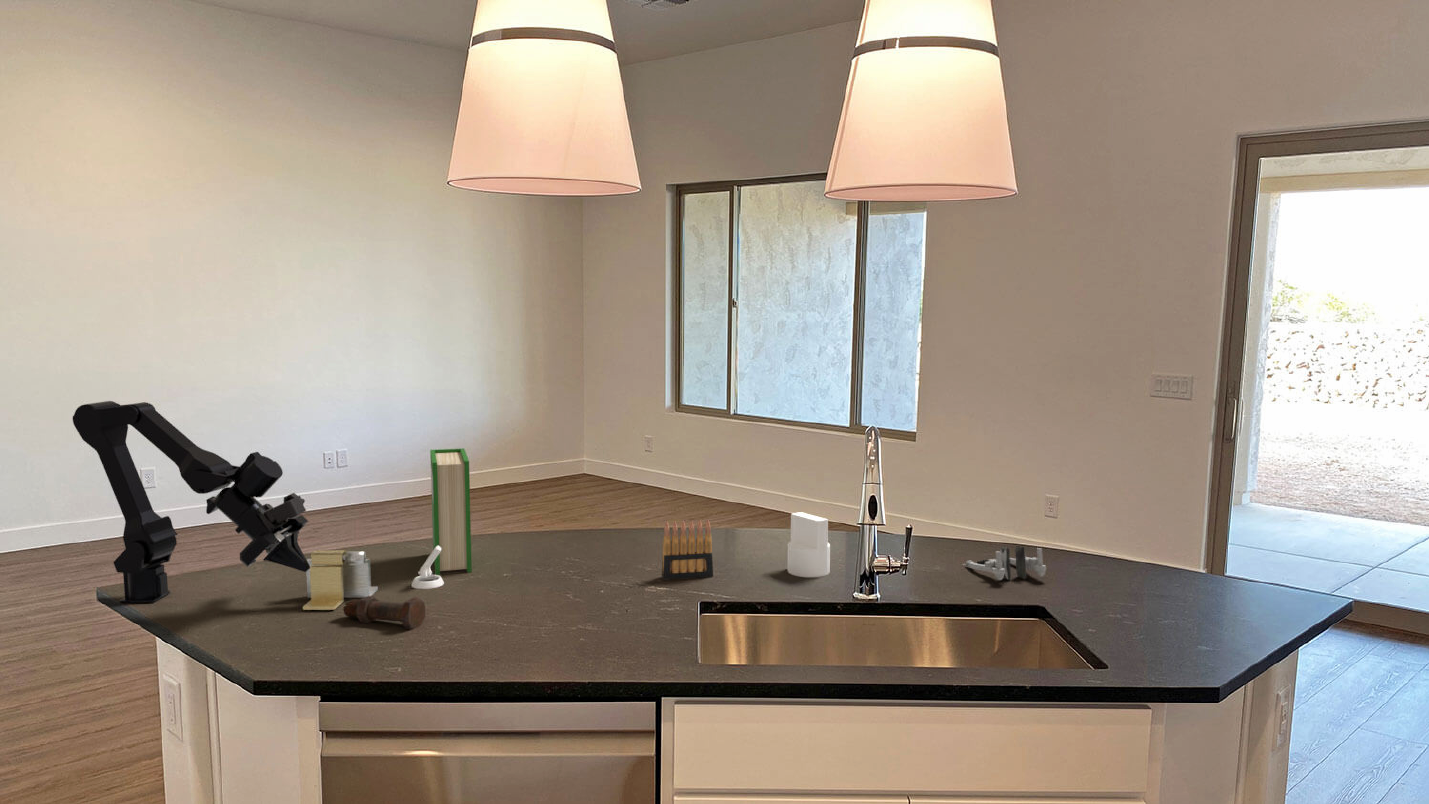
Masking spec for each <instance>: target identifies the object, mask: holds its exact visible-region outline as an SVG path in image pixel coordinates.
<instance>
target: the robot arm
mask: <svg viewBox="0 0 1429 804" xmlns="http://www.w3.org/2000/svg"><path fill="white" fill-rule="evenodd" d="M72 424H73V426H74V428H75V429H76V431H77V432H78V434H79V435H80V436H79V437H80V438H81V440H82V441H83V442H84V443H86V444H87V445H89V446H90V447H91V448H92V449H93V450H95V451H96V453H97V454H98V458H99V459H100V462H101V464H102V466H103V469H104V472H105V474H106V477H107V480H108V482H109V484H110V487H111V489H112V491H113V494H114V496H115V499H116V502H117V503H118V506H119V508H120V512H121V514H122V516H123V519H124V522H125V523H124V529H123V534H122V540H123V545H124V548H125V549H124V550H122V551H121V553H120V554H119V556H117V558H116V559H115V560H114V561H113V566H114V568H115V571H116V572H117V573H122V574H123V575H122V576H123V591H124V595H123V596H124V597H122V598H121V599H119V603H121V604H122V603H126V604H127V603H129V604H130V603H133V604H134V603H155V602H157V601H158V600H160V599H162V598H164V597H166V596H168V595H169V594H170V593H171V590H169V588H168V587H169V584H168V573H167V572H166V571H165V563H168V562H170V560H171V556H172V553H173V552H174V550H175V548H176V546H177V544H178V543H177V542H178V541H177V537H176V536H177V535H178V533H177V531H176V530H175V528H174V526H173V522H172V518H171V517H170V516H169V515H166V516H162V517H161V516H160V515H159V514H158V513H156V512H155V510H154V509H153V507H152V504H151V502H150V500H149V497H148V494H147V492H146V490H145V487H144V485H143V481H142V479H141V477H140V475H139V473H138V469H137V467H136V464H135V462H134V460H133V458H132V455H131V453H130V450H129V448H128V445H127V436H128V430H129V426H132V427H133V428H134V429H135V430H136V431H137V432H138V433H140V434H141V435H142V436H143V437H144V438H146V439H147V441H149V442H150V443H151V444H152V445H154V447H156V448H157V449H158V450H159V451H160V452H162V454H164V456H165V457H167V458H168V459H170V460H171V461H172V462H173V463H174V464H175V465H176V466H177V468H178V469H179V473H180V477H181V478H182V479H183V481H184V482H185V483H186V484H187V485H188V486H189V488H190V489H191V490H192V491H193V492H195V493H196V494H200V495H201V494H202V495H204V494H209V493H212V492H216V491H218V490H221V491H220V492H219V493H218V494H216V495H213V496H211V497H209V498H207V499H206V500H205V501H206V510H205V512H206V514H207V515H210V514H212V513H214V512H215V511H218V510H219V511H220V512H221V513H222V514H223V515H224V516H225V517H227V518H228V519H229V520H230V522H231V523H233V524H234V525H236V528H235V529H234V532H236V533H237V534H241V533H244V534H245V535H246V536H247V537H248V538H249V539H250V540H251V541H250V542H249V543H248V544H247V545H246V546H245V547H244V548H243V549H242V551H240V552H239V561H240V562H241V563H242V564H243V565H244V566H246V567H247V568H249V567H250V566H252V565H254V564H255V563H256V559H258V558H259V556H261V554H262V553H264V551H265V554H266V556H265V557H264V558H263V559H262V560H263V561H264V562H271V563H274V564H278V565H282V566H285V567H288V568H291V569H295V570H298V571H301V572H303V573H306V571H308V570H309V569H310V565H309V564H308V562H307V558H306V557H305V555H304V553H303V551H302V549H301V547H300V545H299V543H298V542H299V541H298V540H299V539H298V537H299V534H300V532H301V530H302V529H303V528H304V527H305V526H306V525H307V524H308V523H309V520H308V519H307V518H306V517H305V516H304V515H303V514H302V513H304V512H306V511H307V509H306V507H305V506H304V503H305V502H306V500H305V499H304V498H302V497H301V495H298V494H296V493H295V492H292V493H290V494H288V495H286V496H284V497H283V503H280V504H278V505H276V506H274V507H273V506H272V505H271V504H270V503H265V504H261V502H259V501H258V500H257V499H256V498H262V497H263V496H264V495H265V494H266V493H267V492H268V491H269V490H270V489H271V488H272V487H273V486H274V484H276V483H277V481H279V479H281V477H283V469H282V467H281V466H280V464H279V462H277V461H274V460H273V459H271V458H269V457H268V456H266V455H265V456H264V455H262V454H260V452H259V451H255V452H251V453H249V455H247V457H246V459H245V461H244V462H242V464H241V465H238V466H237V465H233V464H231V463H230V461H228V460H227V459H225V458H223V457H222V456H219V455H218V454H216V453H214V452H212V451H209V450H205V449H203V448H202V447H200V446H198V445H196V444H195V443H194V442H193V441H192V440H190V439H189V438H188V437H187V436H186V435H185V434H184V433H183V432H181V431H180V430H179V429H178V428H177V427H176V426H175V425H173V424H172V423H171V422H170V421H168V419H166V417H164V416H163V415H162V414H161V413H159V412H158V411H157V409H156V407H155V406H154V405H153V404H151V403H149V402H146V401H144V402H136V403H129V404H120V403H118V402H116V401H113V400H105V401H99V402H92V403H85V404H82V405H80V406H78V407H77V408H76V410H75V411H74V413H73V415H72ZM232 483H233V484H232ZM231 484H232V485H231ZM230 485H231V487H230Z"/></svg>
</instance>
